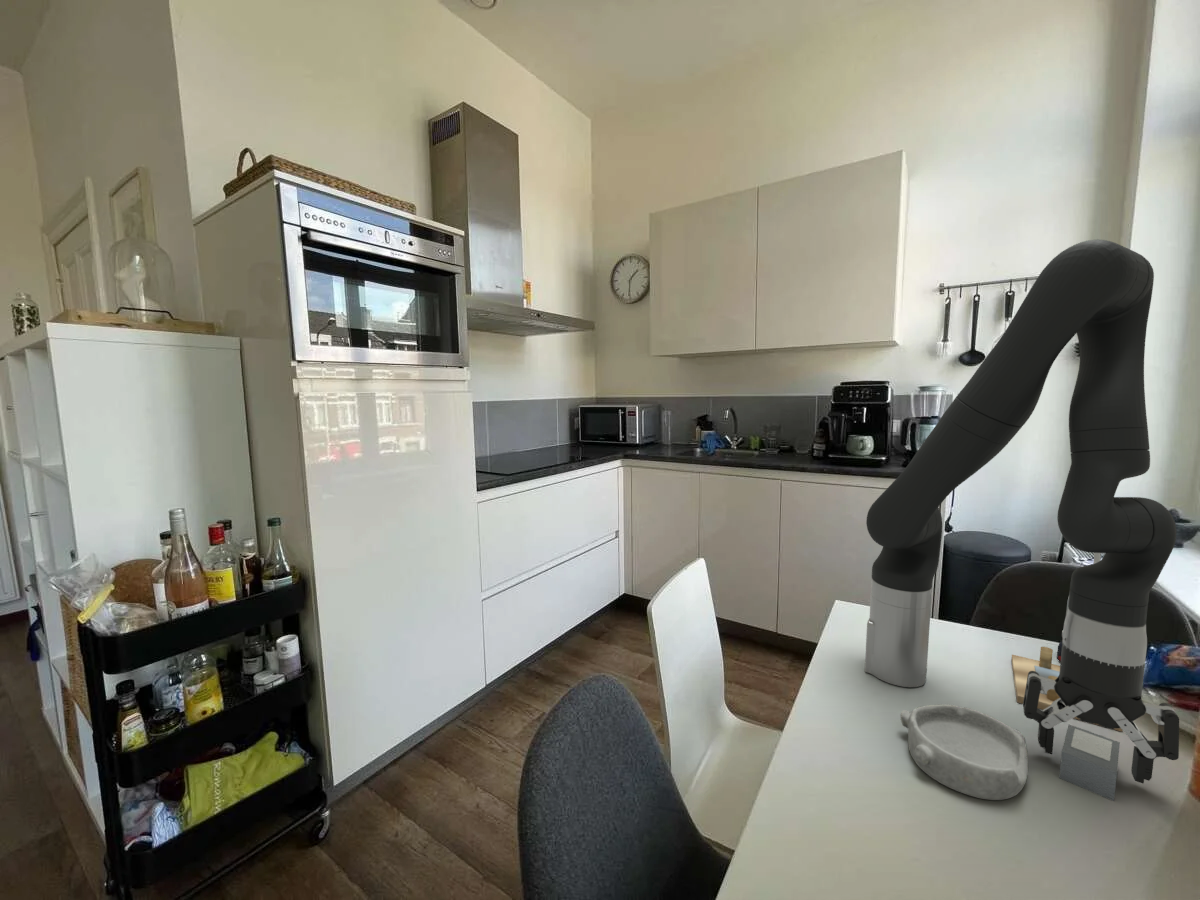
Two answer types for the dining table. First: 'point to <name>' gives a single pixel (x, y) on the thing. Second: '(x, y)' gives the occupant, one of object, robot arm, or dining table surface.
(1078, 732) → the block
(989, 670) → the dining table surface
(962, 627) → the dining table surface
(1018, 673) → the wooden peg board
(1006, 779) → the dish
